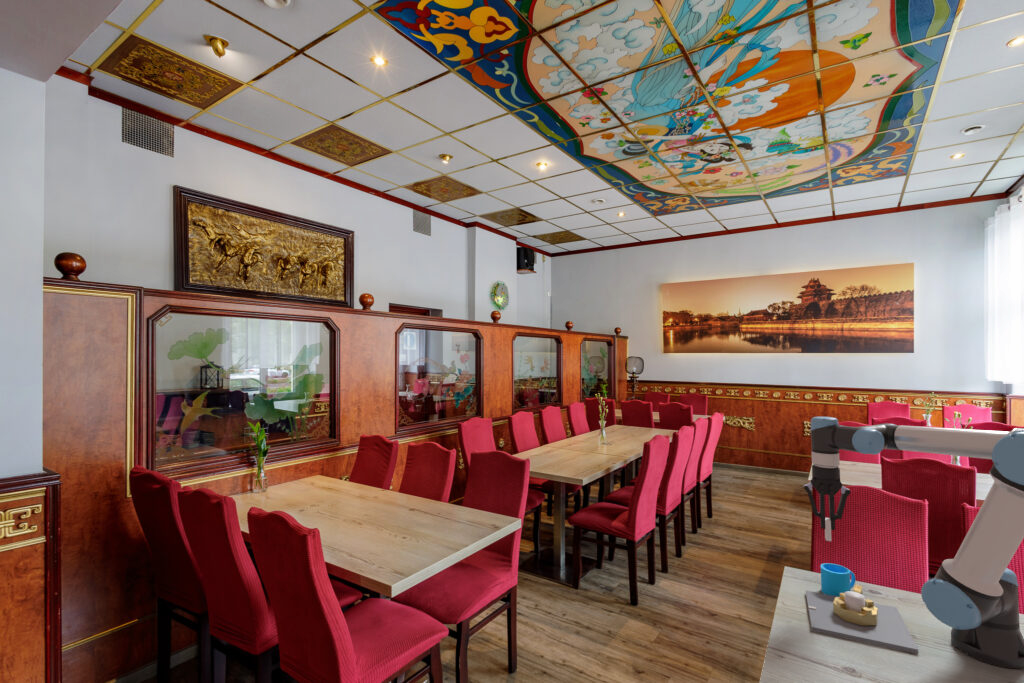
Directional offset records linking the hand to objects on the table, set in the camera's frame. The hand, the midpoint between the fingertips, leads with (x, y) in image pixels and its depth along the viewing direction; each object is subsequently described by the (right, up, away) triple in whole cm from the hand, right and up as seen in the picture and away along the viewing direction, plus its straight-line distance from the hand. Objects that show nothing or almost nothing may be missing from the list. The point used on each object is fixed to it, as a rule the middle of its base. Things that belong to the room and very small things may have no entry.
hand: (828, 539), depth 153 cm
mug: (+9, -21, +7) cm, 24 cm away
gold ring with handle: (+3, -19, -9) cm, 21 cm away
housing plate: (+1, -20, -10) cm, 23 cm away
